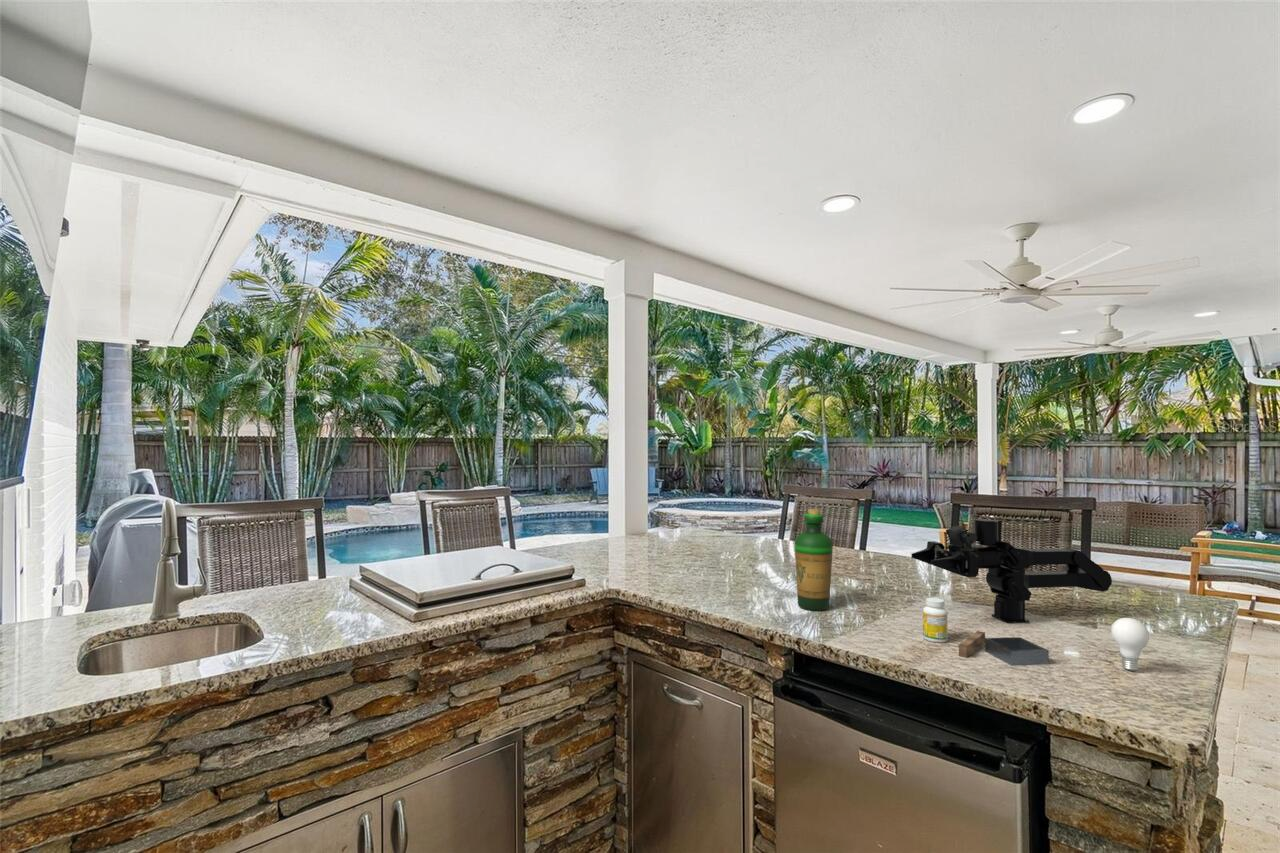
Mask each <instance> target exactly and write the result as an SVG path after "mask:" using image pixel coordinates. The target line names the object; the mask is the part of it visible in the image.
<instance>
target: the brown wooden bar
mask: <svg viewBox="0 0 1280 853" xmlns="http://www.w3.org/2000/svg"><path fill="white" fill-rule="evenodd" d="M985 638H986V632H984V631H979V630H977V631H975V632H974V633H973V634H972V635H970V636H969V637H966V639H964V640H963V641H962V642H960V643H959V644H958V656H959V657H962V658H965V659H967V658H968V657H970V656H971V655H972V654H973V653H975V652H976V651H977V650H979V649H980V648H981V647H982V646H984V645H985Z"/></svg>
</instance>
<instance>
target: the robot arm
mask: <svg viewBox="0 0 1280 853" xmlns="http://www.w3.org/2000/svg"><path fill="white" fill-rule="evenodd" d="M1002 522H1003V521H1001V520H998V519H987V518H983V517H982V518H981V517H980V518H973V532H971V531H970V530H969V529H968V528H966V527H965V526H960V525H955V526H954V525H953V526H952V527H950V528H947V529H945V532H946V535H947V537H948V540H949V542H950V544H948V545H947V549H945V548H946V547H945V545H944V544H943V543H942V542H938V541H935V540H930V541H927V543H926V548H925V549H922V550H919V551H915V552H913V553H911V558H912V559H915V560H918V561H919V562H923V563H926V564H928V565H931V566H933V567H936V568H938V569H939V568H940V569H943V570H945V571H946V572H947V571H948V572H951V573H954V574H956V575H959V576H961V577H966V578H976V577H977V576H978V575H979V571H980V570H982V569H984V570H985V569H986V570H987V571H988V572H987V573H986V576H985V581H986V583H987V585H988V586H989V589H990V591H991V593H992V594H995V600H994V602H993V603H994V604H993V609H994V611H993V613H991V617H993V618H995V619H997V620H999V621H1003V622H1004V623H1007V624H1009V623H1010V624H1011V623H1012V624H1013V623H1015V624H1016V623H1018V624H1019V623H1021V624H1022V623H1030V619H1027V618H1026V602H1027V601H1030V600H1031V596H1032V592H1031V590H1029V589H1039V588H1040V589H1041V588H1042V589H1045V588H1046V589H1047V588H1049V589H1050V588H1076V587H1077V588H1081V589H1086V590H1091V591H1094V592H1095V591H1097V592H1107V591H1109V589H1110V588H1111V586H1112V583H1113V580H1112V579H1113V578H1112V576H1111V574H1110V572H1109V571H1107V570H1104V569H1103V568H1102V567H1101V565H1099V564H1098V563H1096V562H1094V561H1093V560H1092V559H1090V558H1089V557H1088V556H1087V555H1086V554H1085V553H1084V552H1083V551H1081V550H1078V549H1074V548H1070V547H1066V548H1037V549H1036V548H1028V549H1027V548H1022V547H1017V546H1013V545H1012V544H1011V543H1009V542H1007V541H1002V526H1003V523H1002ZM975 542H978V545H980V546H972V545H973V544H974V543H975ZM1036 565H1037V566H1038V565H1039V566H1040V565H1045V566H1046V565H1051V566H1053V565H1065V566H1066V569H1067V570H1054V571H1053V570H1052V571H1049V570H1048V571H1026V570H1027V569H1029V568H1031V567H1033V566H1036Z"/></svg>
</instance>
